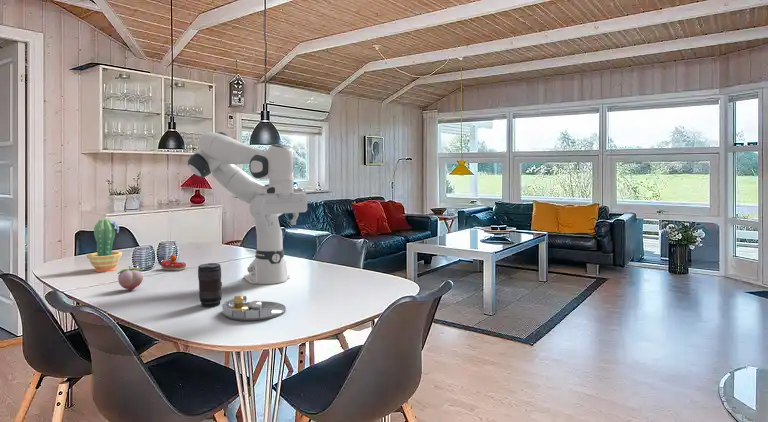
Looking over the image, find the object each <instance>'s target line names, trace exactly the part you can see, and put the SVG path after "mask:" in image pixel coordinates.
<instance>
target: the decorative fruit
mask: <svg viewBox="0 0 768 422" xmlns="http://www.w3.org/2000/svg"><path fill="white" fill-rule="evenodd" d="M128 267H129V269H128V268H125V269H121V270H120V271H118V272H117V275H118V276H117V277H118V278H117V279H118V284H119V286H120V287H122V288H124V289H125V290H129V291H133V290H134V289H137V287H139V286H140V285H141V284H142V282H143V279H144V275H143V273H142V271H143V269H141V268H139V267H132V268H131V266H128Z"/></svg>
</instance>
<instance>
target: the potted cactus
mask: <svg viewBox="0 0 768 422" xmlns="http://www.w3.org/2000/svg"><path fill="white" fill-rule="evenodd" d="M119 232H120V227H119V226H118V223H116V221H113V220H111V219H108V218H105V219H103V218H101V219H99V220H98V221H97V222H96V224H94V227H93V235H94V238H95V239H94V240H95V242H96V252H93V253H88V254H87V255H86V258H87V259H88V260H89V262H90V264H91V265H92V267H94V272H98V273H106V272H112V271H115V270H116V268H117V265H118V264H119V262H120V259H121V257H122V256H123V252H122V251H115V250H114V251H113V245H114V244H113V243H114V241H115V240H114V239H115V237H116V234H119Z"/></svg>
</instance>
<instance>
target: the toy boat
mask: <svg viewBox="0 0 768 422" xmlns="http://www.w3.org/2000/svg"><path fill="white" fill-rule="evenodd" d="M169 257H170V258H169V260H167V259H164V260H162V261H161V262H160V267H161V269H162V270H163V271H172V272H177V271H179V272H180V271H182V270H185V269H186V267H187V265H186V262H184V261H183V262H179V261H178V262H177V261H176V260H177V255H176V254H171V255H170V256H169ZM170 260H171V261H170Z"/></svg>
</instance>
